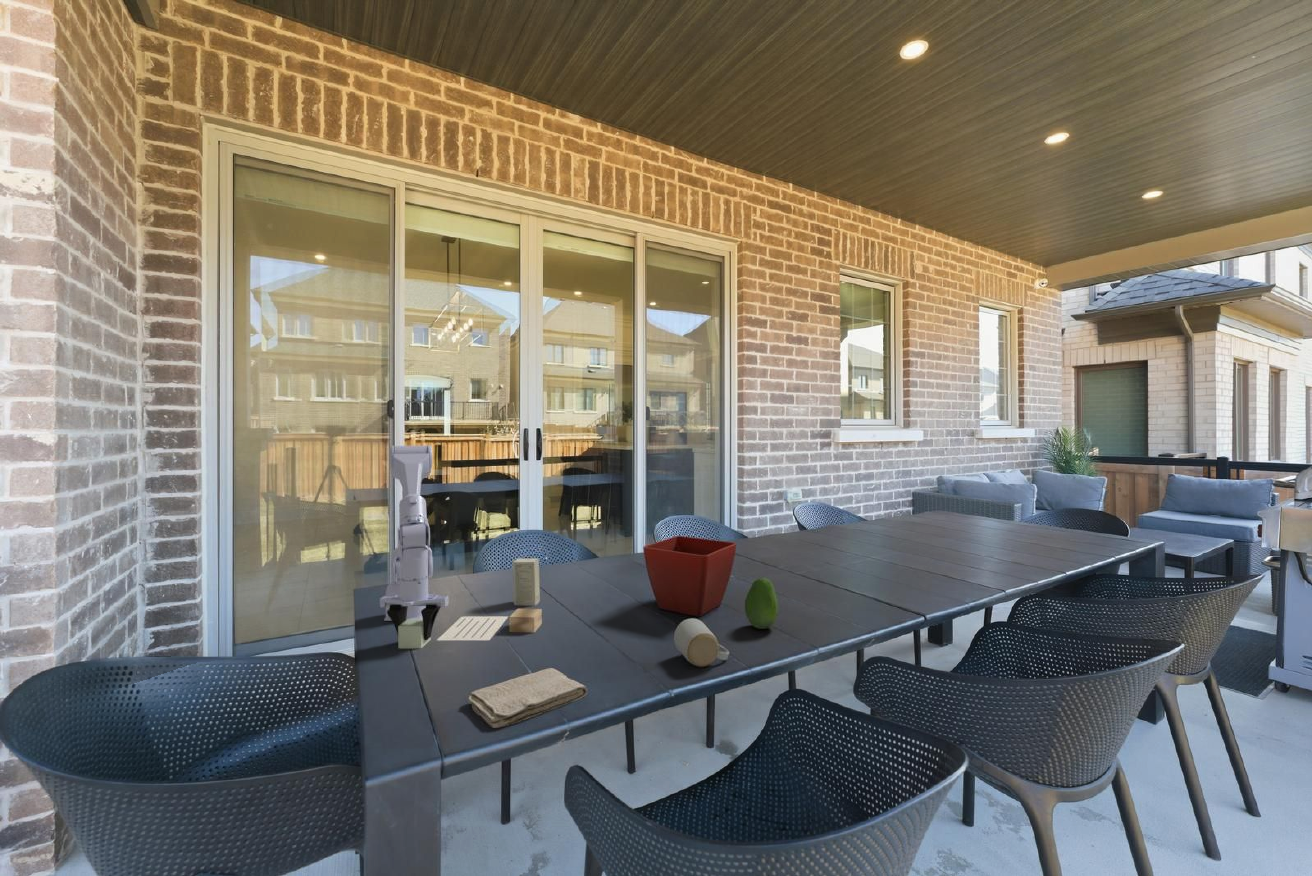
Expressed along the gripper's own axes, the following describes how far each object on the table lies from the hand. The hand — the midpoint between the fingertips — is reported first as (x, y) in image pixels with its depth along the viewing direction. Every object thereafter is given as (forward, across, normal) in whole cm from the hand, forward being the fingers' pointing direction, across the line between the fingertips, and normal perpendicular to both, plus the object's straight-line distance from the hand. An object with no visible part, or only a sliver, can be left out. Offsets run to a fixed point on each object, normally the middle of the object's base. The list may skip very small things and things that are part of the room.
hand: (414, 638), depth 123 cm
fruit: (+2, +79, +10) cm, 80 cm away
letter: (+1, +10, +10) cm, 14 cm away
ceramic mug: (+2, +64, -8) cm, 64 cm away
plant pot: (+2, +63, +26) cm, 68 cm away
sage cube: (+1, 0, 0) cm, 1 cm away
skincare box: (+2, +18, +29) cm, 34 cm away
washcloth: (+2, +31, -25) cm, 40 cm away
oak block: (+2, +22, +10) cm, 25 cm away
